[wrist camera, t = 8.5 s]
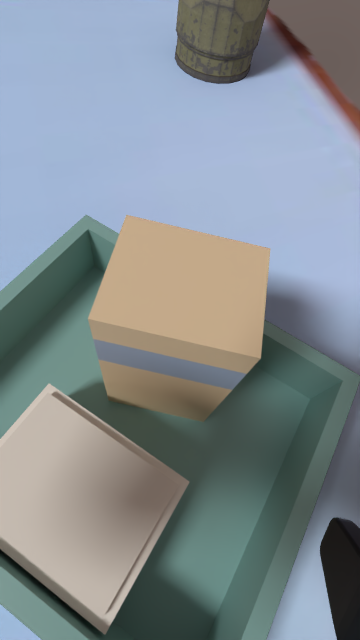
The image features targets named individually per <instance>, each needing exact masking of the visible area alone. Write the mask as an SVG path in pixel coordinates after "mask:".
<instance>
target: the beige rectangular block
mask: <svg viewBox="0 0 360 640" xmlns="http://www.w3.org/2000/svg"><path fill="white" fill-rule="evenodd" d="M188 484H189V481H188V480H186V479H185V478H184V477H182V476H181V475H179V474H178V473H176V472H175V471H174V470H172V469H171V468H169V467H168V466H166V465H165V464H164V463H162V462H161V461H159V460H158V459H156V458H155V457H154V456H152V455H151V454H149V453H148V452H146V451H145V450H144V449H142V448H141V447H139V446H138V445H136V444H135V443H134V442H132V441H131V440H129V439H128V438H126V437H125V436H124V435H122V434H121V433H119V432H118V431H116V430H115V429H114V428H112V427H111V426H109V425H108V424H106V423H105V422H104V421H102V420H101V419H99V418H98V417H96V416H95V415H94V414H92V413H91V412H89V411H88V410H87V409H85V408H84V407H82V406H81V405H79V404H78V403H77V402H75V401H74V400H72V399H71V398H69V397H68V396H67V395H65V394H64V393H62V392H61V391H59V390H58V389H57V388H55V387H54V386H52V385H51V384H48V385H47V386H46V387H45V388H44V390H43V391H42V392H41V393H40V394H39V395H38V396H37V398H36V399H35V400H34V401H33V402H32V403H31V404H30V406H29V407H28V408H27V409H26V410H25V411H24V412H23V414H22V415H21V416H20V417H19V418H18V419H17V421H16V422H15V423H14V424H13V425H12V426H11V427H10V429H9V430H8V431H7V432H6V433H5V434H4V435H3V437H2V438H1V439H0V549H1V550H2V551H3V552H5V553H6V554H7V555H8V556H9V557H11V558H12V559H13V560H14V561H16V562H17V563H18V564H19V565H20V566H22V567H23V568H24V569H25V570H26V571H28V572H29V573H30V574H31V575H33V576H34V577H35V578H36V579H37V580H39V581H40V582H41V583H42V584H43V585H45V586H46V587H47V588H48V589H50V590H51V591H52V592H53V593H54V594H56V595H57V596H58V597H59V598H61V599H62V600H63V601H64V602H65V603H67V604H68V605H69V606H70V607H71V608H73V609H74V610H75V611H76V612H78V613H79V614H80V615H81V616H82V617H84V618H85V619H86V620H87V621H89V622H90V623H91V624H92V625H93V626H95V627H96V628H97V629H98V630H99V631H101V632H102V633H103V634H104V635H105V634H106V632H107V631H108V629H109V627H110V625H111V623H112V621H113V620H114V618H115V616H116V614H117V612H118V611H119V609H120V607H121V605H122V603H123V602H124V600H125V598H126V596H127V594H128V593H129V591H130V589H131V587H132V585H133V583H134V582H135V580H136V578H137V576H138V574H139V573H140V571H141V569H142V567H143V565H144V564H145V562H146V560H147V558H148V556H149V554H150V553H151V551H152V549H153V547H154V545H155V544H156V542H157V540H158V538H159V536H160V535H161V533H162V531H163V529H164V527H165V526H166V524H167V522H168V520H169V518H170V516H171V515H172V513H173V511H174V509H175V507H176V506H177V504H178V502H179V500H180V498H181V497H182V495H183V493H184V491H185V489H186V487H187V486H188Z"/></svg>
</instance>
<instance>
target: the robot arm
mask: <svg viewBox="0 0 360 640" xmlns="http://www.w3.org/2000/svg"><path fill="white" fill-rule="evenodd" d="M320 555H321V561H322V566H323V571H324V577H325V582H326V587H327V592H328V598H329V603H330V608H331V614H332V619H333V624H334V628H335V633H336V637H337V640H360V528H359V527H358V526H357V525H356V524H354V523H353V522H352V521H350V520H346V519H341V518H333V519H332V520H331V521H330V523H329V526H328V528H327V530H326V532H325V535H324V537H323V539H322V542H321V546H320Z"/></svg>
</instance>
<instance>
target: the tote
mask: <svg viewBox="0 0 360 640" xmlns="http://www.w3.org/2000/svg"><path fill="white" fill-rule="evenodd" d="M118 236H119V234H118V233H117V232H115V231H113V230H111V229H110V228H108V227H106V226H105V225H103V224H101V223H100V222H98V221H96V220H94V219H93V218H91V217H89V216H88V215H85V216H84V217H83V218H82V219H81V220H80V221H78V222H77V223H76V224H75V225H74V226H73V227H72V228H71V229H69V230H68V231H67V232H66V233H65V234H64V235H63V236H62V237H61V238H59V239H58V240H57V241H56V242H55V243H54V244H53V245H52V246H51V247H49V248H48V249H47V250H46V251H45V252H44V253H43V254H42V255H40V256H39V257H38V258H37V259H36V260H35V261H34V262H33V263H32V264H30V265H29V266H28V267H27V268H26V269H25V270H24V271H23V272H21V273H20V274H19V275H18V276H17V277H16V278H15V279H14V280H13V281H11V282H10V283H9V284H8V285H7V286H6V287H5V288H4V289H2V290H1V291H0V439H1V438H2V437H3V435H4V434H5V433H6V432H7V431H8V430H9V429H10V427H11V426H12V425H13V424H14V423H15V422H16V421H17V419H18V418H19V417H20V416H21V415H22V414H23V412H24V411H25V410H26V409H27V408H28V407H29V406H30V404H31V403H32V402H33V401H34V400H35V399H36V398H37V396H38V395H39V394H40V393H41V392H42V391H43V390H44V388H45V387H46V386H47V385H48V384H51V385H52V386H54V387H55V388H57V389H58V390H59V391H61V392H62V393H64V394H65V395H67V396H68V397H69V398H71V399H72V400H74V401H75V402H77V403H78V404H79V405H81V406H82V407H84V408H85V409H87V410H88V411H89V412H91V413H92V414H94V415H95V416H96V417H98V418H99V419H101V420H102V421H104V422H105V423H106V424H108V425H109V426H111V427H112V428H114V429H115V430H116V431H118V432H119V433H121V434H122V435H124V436H125V437H126V438H128V439H129V440H131V441H132V442H134V443H135V444H136V445H138V446H139V447H141V448H142V449H144V450H145V451H146V452H148V453H149V454H151V455H152V456H154V457H155V458H156V459H158V460H159V461H161V462H162V463H164V464H165V465H166V466H168V467H169V468H171V469H172V470H174V471H175V472H176V473H178V474H179V475H181V476H182V477H184V478H185V479H186V480H188V481H189V484H188V486H187V487H186V489H185V491H184V493H183V495H182V497H181V498H180V500H179V502H178V504H177V506H176V507H175V509H174V511H173V513H172V515H171V516H170V518H169V520H168V522H167V524H166V526H165V527H164V529H163V531H162V533H161V535H160V536H159V538H158V540H157V542H156V544H155V545H154V547H153V549H152V551H151V553H150V554H149V556H148V558H147V560H146V562H145V564H144V565H143V567H142V569H141V571H140V573H139V574H138V576H137V578H136V580H135V582H134V583H133V585H132V587H131V589H130V591H129V593H128V594H127V596H126V598H125V600H124V602H123V603H122V605H121V607H120V609H119V611H118V612H117V614H116V616H115V618H114V620H113V621H112V623H111V625H110V627H109V629H108V631H107V632H106V634H105V635H104V634H103V633H102V632H101V631H99V630H98V629H97V628H96V627H95V626H93V625H92V624H91V623H90V622H89V621H87V620H86V619H85V618H84V617H82V616H81V615H80V614H79V613H78V612H76V611H75V610H74V609H73V608H71V607H70V606H69V605H68V604H67V603H65V602H64V601H63V600H62V599H61V598H59V597H58V596H57V595H56V594H54V593H53V592H52V591H51V590H50V589H48V588H47V587H46V586H45V585H43V584H42V583H41V582H40V581H39V580H37V579H36V578H35V577H34V576H33V575H31V574H30V573H29V572H28V571H26V570H25V569H24V568H23V567H22V566H20V565H19V564H18V563H17V562H16V561H14V560H13V559H12V558H11V557H9V556H8V555H7V554H6V553H5V552H3V551H2V550H1V549H0V604H1V605H2V606H3V607H4V608H5V609H7V610H8V611H9V612H10V613H11V614H12V615H14V616H15V617H16V618H17V619H18V620H19V621H21V622H22V623H23V624H24V625H25V626H26V627H28V628H29V629H30V630H31V631H32V632H33V633H35V634H36V635H37V636H38V637H39V638H40V639H42V640H266V638H267V636H268V633H269V630H270V627H271V625H272V622H273V619H274V616H275V614H276V611H277V608H278V605H279V603H280V600H281V597H282V594H283V592H284V589H285V586H286V583H287V581H288V578H289V575H290V572H291V570H292V567H293V564H294V561H295V559H296V556H297V553H298V550H299V548H300V545H301V542H302V540H303V537H304V534H305V531H306V529H307V526H308V523H309V520H310V518H311V515H312V512H313V509H314V507H315V504H316V501H317V498H318V496H319V493H320V490H321V487H322V485H323V482H324V479H325V476H326V474H327V471H328V468H329V465H330V463H331V460H332V457H333V454H334V452H335V449H336V446H337V443H338V441H339V438H340V435H341V432H342V430H343V427H344V424H345V421H346V419H347V416H348V413H349V410H350V408H351V405H352V402H353V399H354V397H355V394H356V391H357V388H358V386H359V383H360V375H358V374H356V373H354V372H353V371H351V370H349V369H348V368H346V367H344V366H343V365H341V364H339V363H337V362H336V361H334V360H332V359H331V358H329V357H327V356H326V355H324V354H322V353H320V352H319V351H317V350H315V349H314V348H312V347H310V346H309V345H307V344H305V343H303V342H302V341H300V340H298V339H297V338H295V337H293V336H292V335H290V334H288V333H286V332H285V331H283V330H281V329H280V328H278V327H276V326H275V325H273V324H271V323H269V322H268V321H266V320H264V327H263V339H262V350H261V359H260V360H259V361H258V362H257V363H256V364H255V365H254V367H253V368H252V369H251V370H250V371H249V372H248V373H247V374H246V375H245V376H244V378H243V379H242V380H241V381H240V382H239V383H238V384H237V385H236V386H235V388H234V389H233V390H232V391H231V392H230V393H229V394H228V395H227V396H226V398H225V399H224V400H223V401H222V402H221V403H220V404H219V405H218V406H217V407H216V409H215V410H214V411H213V412H212V413H211V414H210V415H209V416H208V417H207V419H206V420H205V421H204V422H201V421H196V420H192V419H188V418H183V417H179V416H174V415H170V414H166V413H161V412H157V411H152V410H148V409H143V408H139V407H135V406H130V405H126V404H121V403H117V402H112V401H109V400H108V396H107V392H106V388H105V384H104V380H103V376H102V372H101V368H100V364H99V360H98V357H97V353H96V349H95V345H94V341H93V337H92V333H91V329H90V325H89V321H88V317H89V314H90V312H91V309H92V306H93V304H94V301H95V298H96V296H97V293H98V290H99V288H100V285H101V282H102V279H103V277H104V274H105V271H106V269H107V266H108V263H109V261H110V258H111V255H112V253H113V250H114V247H115V244H116V242H117V239H118Z"/></svg>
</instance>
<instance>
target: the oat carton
mask: <svg viewBox="0 0 360 640" xmlns="http://www.w3.org/2000/svg"><path fill="white" fill-rule="evenodd" d="M269 257H270V248H266V247H261V246H257V245H253V244H249V243H244V242H240V241H236V240H232V239H227V238H223V237H219V236H214V235H210V234H206V233H202V232H197V231H193V230H189V229H185V228H180V227H176V226H172V225H167V224H163V223H159V222H155V221H150V220H146V219H142V218H138V217H133V216H129V215H126V218H125V220H124V223H123V226H122V228H121V231H120V234H119V236H118V239H117V242H116V244H115V247H114V250H113V253H112V255H111V258H110V261H109V263H108V266H107V269H106V271H105V274H104V277H103V279H102V282H101V285H100V288H99V290H98V293H97V296H96V298H95V301H94V304H93V306H92V309H91V312H90V314H89V317H88V321H89V325H90V329H91V333H92V337H93V341H94V345H95V349H96V353H97V357H98V360H99V364H100V368H101V372H102V376H103V380H104V384H105V388H106V392H107V396H108V400H109V401H112V402H117V403H121V404H126V405H130V406H135V407H139V408H143V409H148V410H152V411H157V412H161V413H166V414H170V415H174V416H179V417H183V418H188V419H192V420H196V421H201V422H204V421H205V420H206V419H207V417H208V416H209V415H210V414H211V413H212V412H213V411H214V410H215V409H216V407H217V406H218V405H219V404H220V403H221V402H222V401H223V400H224V399H225V398H226V396H227V395H228V394H229V393H230V392H231V391H232V390H233V389H234V388H235V386H236V385H237V384H238V383H239V382H240V381H241V380H242V379H243V378H244V376H245V375H246V374H247V373H248V372H249V371H250V370H251V369H252V368H253V367H254V365H255V364H256V363H257V362H258V361H259V360H260V359H261V350H262V339H263V327H264V315H265V304H266V292H267V281H268V269H269Z"/></svg>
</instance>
